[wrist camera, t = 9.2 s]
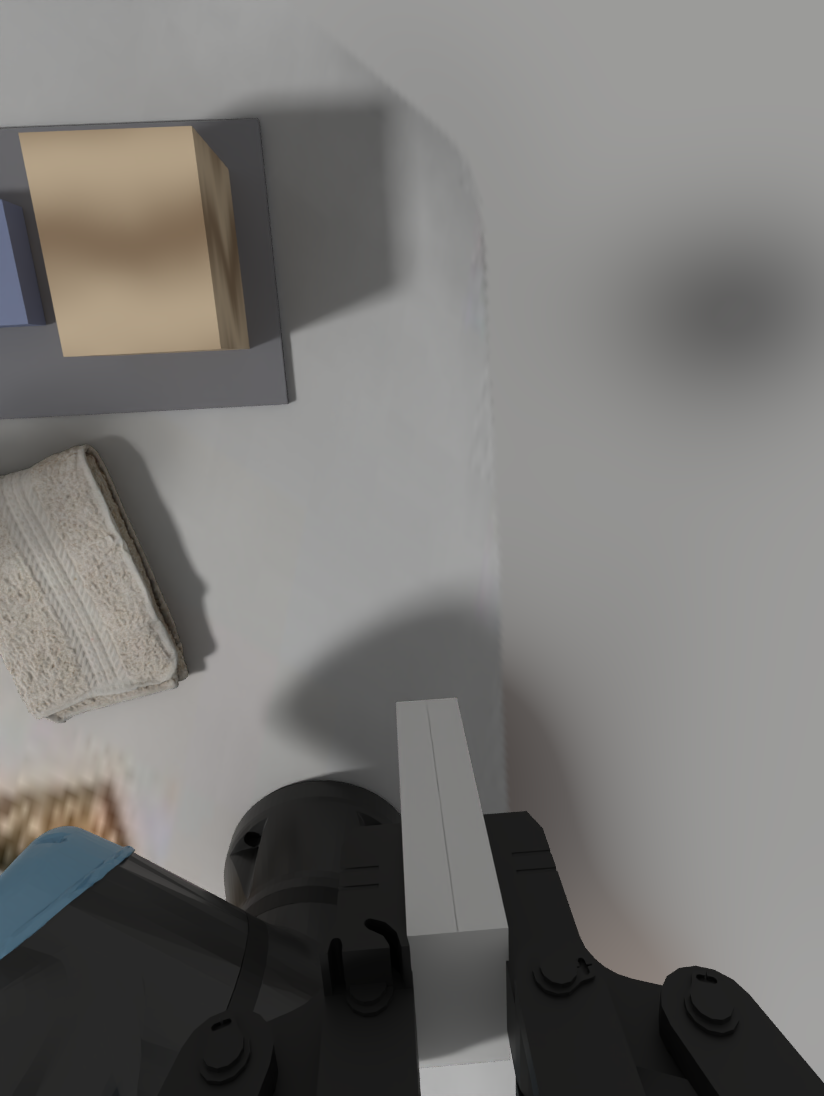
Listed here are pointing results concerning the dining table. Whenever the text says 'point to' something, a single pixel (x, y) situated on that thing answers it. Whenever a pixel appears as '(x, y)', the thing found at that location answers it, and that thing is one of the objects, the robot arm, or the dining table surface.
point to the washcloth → (78, 593)
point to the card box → (17, 272)
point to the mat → (166, 378)
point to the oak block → (137, 240)
